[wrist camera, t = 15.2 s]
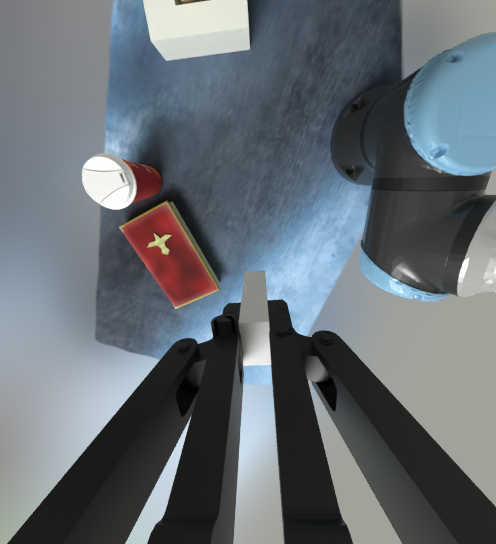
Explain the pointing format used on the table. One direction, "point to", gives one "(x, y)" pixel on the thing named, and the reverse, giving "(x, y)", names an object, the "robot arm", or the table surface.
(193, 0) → the maple peg
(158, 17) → the socket block
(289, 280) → the table surface
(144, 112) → the table surface
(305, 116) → the table surface
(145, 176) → the paper cup
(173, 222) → the hardcover book
